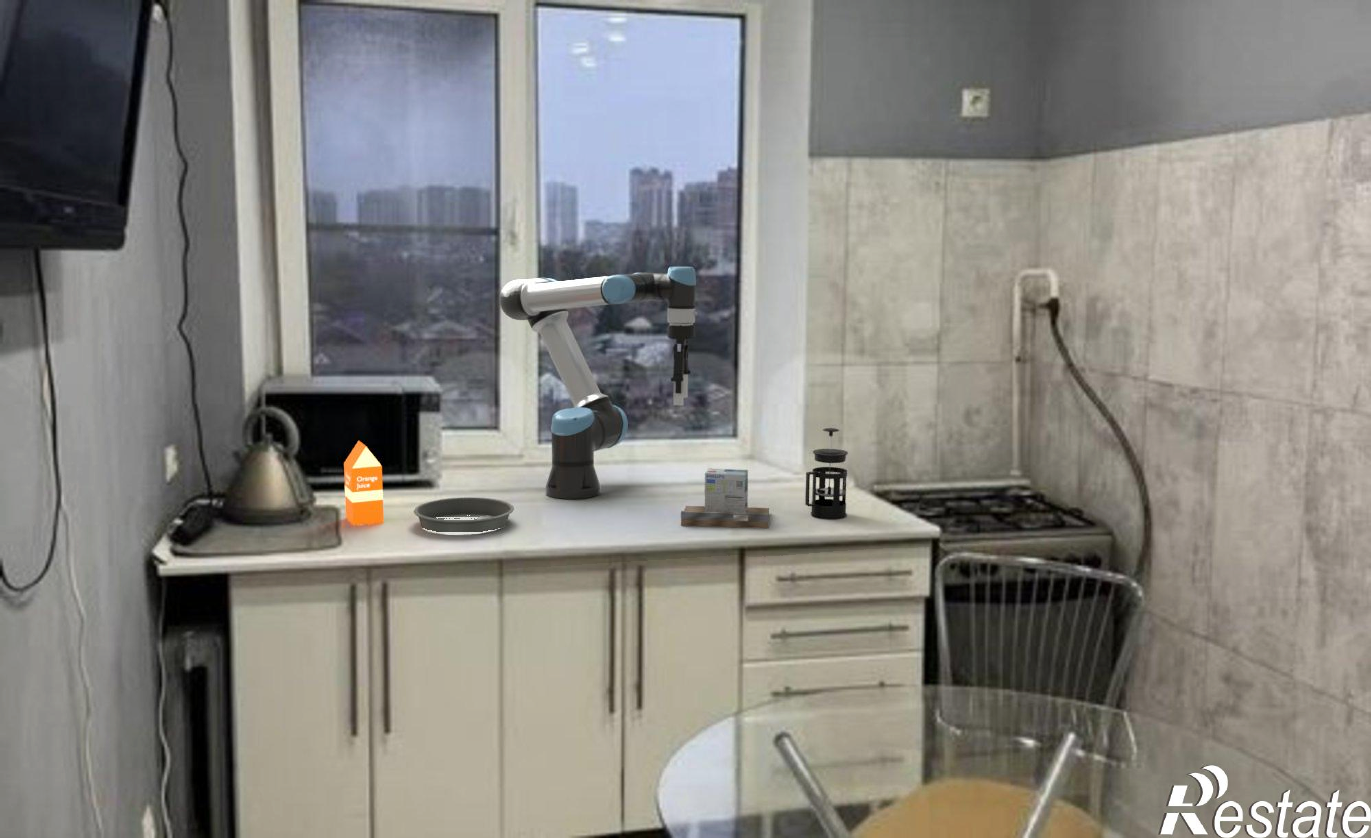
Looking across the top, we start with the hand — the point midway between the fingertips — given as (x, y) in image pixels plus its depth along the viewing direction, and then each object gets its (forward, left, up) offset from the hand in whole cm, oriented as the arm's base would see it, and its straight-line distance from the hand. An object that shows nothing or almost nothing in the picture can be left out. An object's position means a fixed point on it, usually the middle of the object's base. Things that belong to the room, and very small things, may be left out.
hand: (680, 401), depth 325 cm
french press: (+40, -17, -27) cm, 51 cm away
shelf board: (+14, -24, -27) cm, 39 cm away
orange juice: (-77, -36, -27) cm, 89 cm away
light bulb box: (+14, -22, -25) cm, 36 cm away
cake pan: (-51, -37, -27) cm, 69 cm away
